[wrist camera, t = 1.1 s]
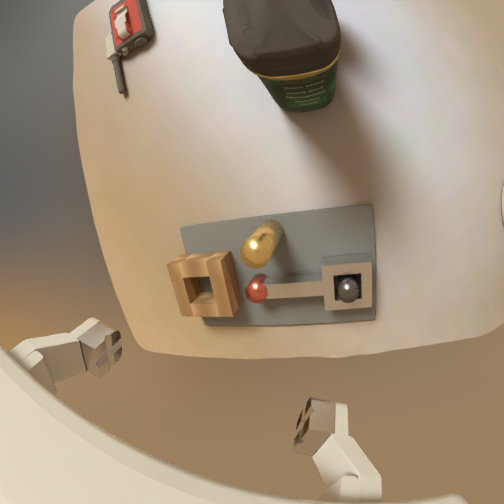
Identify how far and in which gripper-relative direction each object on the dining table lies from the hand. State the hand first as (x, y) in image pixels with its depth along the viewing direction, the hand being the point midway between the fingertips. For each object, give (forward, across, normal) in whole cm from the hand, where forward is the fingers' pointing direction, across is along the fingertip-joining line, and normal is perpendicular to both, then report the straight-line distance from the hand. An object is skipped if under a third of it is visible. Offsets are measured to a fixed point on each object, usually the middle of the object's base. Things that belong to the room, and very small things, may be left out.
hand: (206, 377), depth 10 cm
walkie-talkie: (+28, +30, -25) cm, 48 cm away
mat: (+27, -1, +7) cm, 28 cm away
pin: (+27, +2, +1) cm, 27 cm away
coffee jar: (+27, +2, -19) cm, 33 cm away
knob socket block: (+26, -5, +6) cm, 28 cm away
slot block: (+27, +8, +10) cm, 30 cm away
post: (+26, -10, +4) cm, 28 cm away
